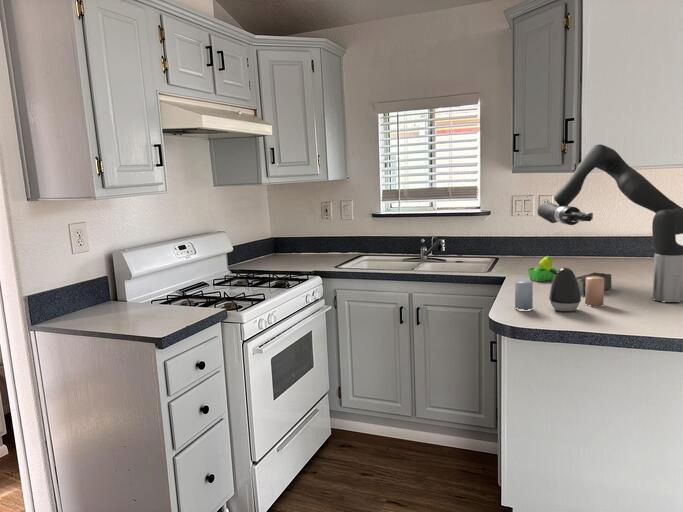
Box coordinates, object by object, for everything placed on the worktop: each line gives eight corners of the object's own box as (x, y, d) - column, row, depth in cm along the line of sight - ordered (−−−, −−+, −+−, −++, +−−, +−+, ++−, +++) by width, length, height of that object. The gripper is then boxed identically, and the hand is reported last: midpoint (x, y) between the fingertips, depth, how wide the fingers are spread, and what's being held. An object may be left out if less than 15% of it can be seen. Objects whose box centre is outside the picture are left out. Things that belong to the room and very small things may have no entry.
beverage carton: (565, 293, 209) (565, 277, 208) (594, 286, 219) (594, 271, 218) (583, 296, 202) (583, 280, 201) (612, 289, 212) (613, 273, 211)
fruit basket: (546, 277, 241) (547, 253, 239) (560, 280, 232) (560, 255, 230) (526, 279, 237) (526, 255, 235) (539, 283, 229) (539, 257, 227)
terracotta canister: (606, 304, 189) (606, 277, 187) (599, 307, 185) (600, 280, 183) (589, 302, 193) (589, 275, 192) (582, 305, 189) (582, 278, 188)
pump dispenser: (552, 305, 191) (553, 264, 189) (583, 308, 185) (584, 266, 183) (545, 311, 183) (545, 269, 181) (576, 315, 177) (577, 271, 175)
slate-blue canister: (535, 308, 188) (535, 281, 186) (527, 312, 183) (527, 284, 182) (520, 306, 192) (520, 279, 190) (511, 309, 188) (511, 282, 186)
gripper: (552, 207, 216) (572, 209, 199) (583, 205, 216) (606, 207, 199) (551, 225, 217) (572, 229, 200) (582, 223, 218) (605, 227, 200)
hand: (589, 218), depth 200 cm, fingers closed
